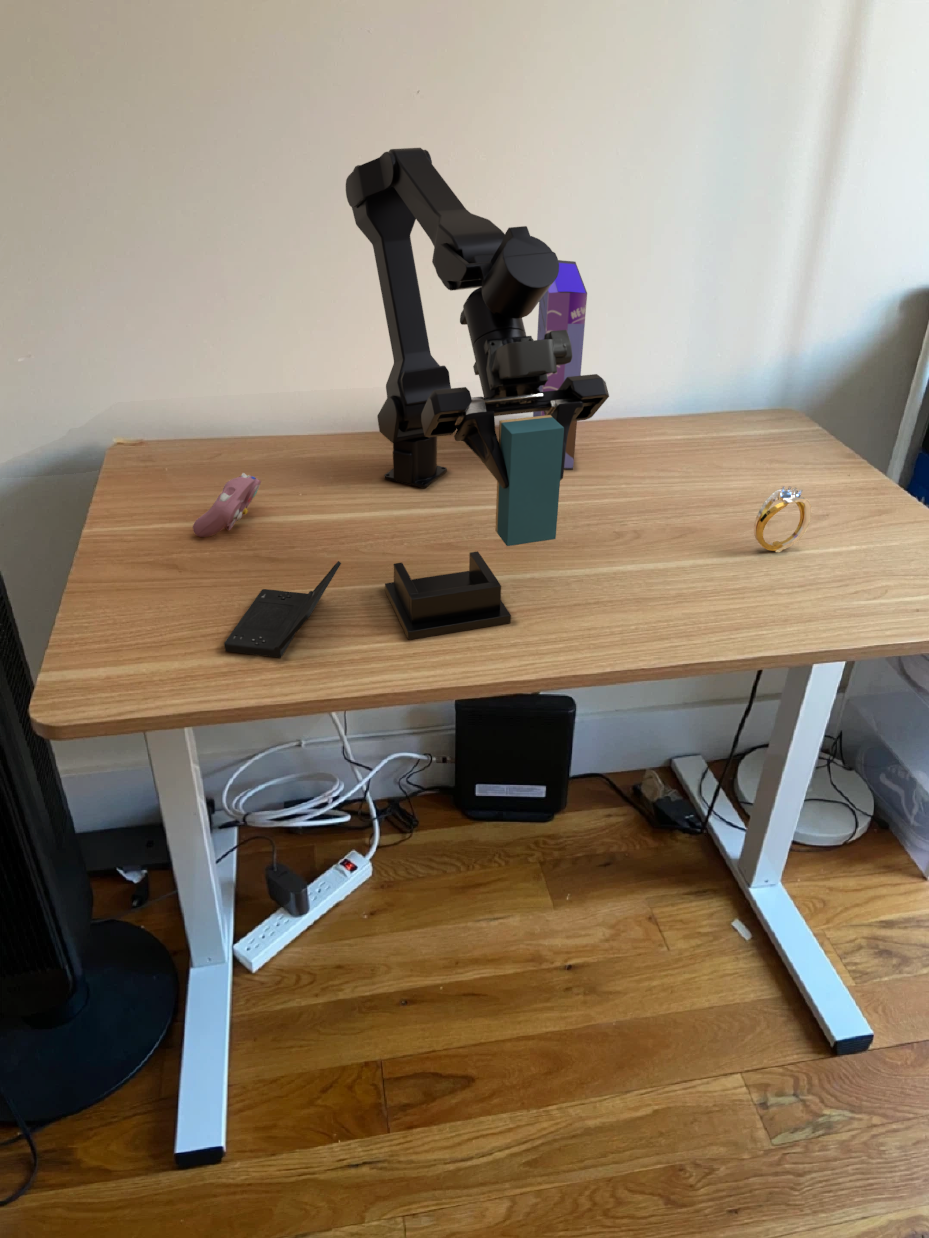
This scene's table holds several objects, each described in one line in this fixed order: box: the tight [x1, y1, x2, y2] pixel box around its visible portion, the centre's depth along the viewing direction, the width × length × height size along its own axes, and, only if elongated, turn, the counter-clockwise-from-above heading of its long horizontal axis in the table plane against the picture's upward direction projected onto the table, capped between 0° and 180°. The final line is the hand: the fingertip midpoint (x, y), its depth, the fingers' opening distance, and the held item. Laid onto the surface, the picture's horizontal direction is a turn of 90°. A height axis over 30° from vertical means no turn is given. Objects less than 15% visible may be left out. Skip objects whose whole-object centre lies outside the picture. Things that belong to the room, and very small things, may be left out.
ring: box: [753, 485, 812, 553], centre depth 110 cm, size 7×3×8 cm, turn 105°
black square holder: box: [384, 551, 512, 641], centre depth 100 cm, size 10×11×4 cm
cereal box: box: [532, 259, 588, 470], centre depth 132 cm, size 17×5×24 cm, turn 179°
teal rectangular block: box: [494, 415, 564, 547], centre depth 97 cm, size 4×6×12 cm, turn 108°
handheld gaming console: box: [223, 560, 342, 659], centre depth 96 cm, size 12×7×10 cm
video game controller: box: [192, 472, 262, 538], centre depth 115 cm, size 10×5×7 cm, turn 168°
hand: (533, 483), depth 96 cm, fingers closed on teal rectangular block, 5 cm apart
